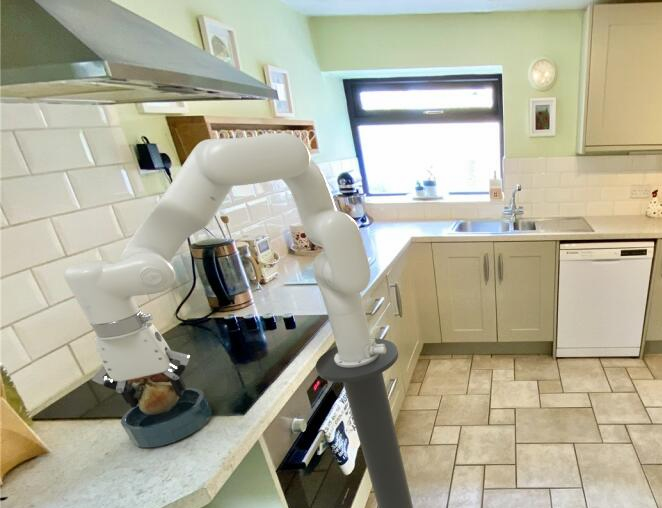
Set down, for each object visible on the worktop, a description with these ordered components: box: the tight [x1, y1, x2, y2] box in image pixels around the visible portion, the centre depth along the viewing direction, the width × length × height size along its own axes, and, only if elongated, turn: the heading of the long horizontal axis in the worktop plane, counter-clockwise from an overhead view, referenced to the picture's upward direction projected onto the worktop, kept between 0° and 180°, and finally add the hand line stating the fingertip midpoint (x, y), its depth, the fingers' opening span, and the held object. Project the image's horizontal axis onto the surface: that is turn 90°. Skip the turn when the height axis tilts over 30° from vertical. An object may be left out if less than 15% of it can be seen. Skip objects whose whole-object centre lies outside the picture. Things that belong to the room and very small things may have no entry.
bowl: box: [120, 387, 213, 448], centre depth 92 cm, size 15×15×6 cm
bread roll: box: [128, 363, 172, 385], centre depth 111 cm, size 10×10×8 cm
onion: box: [132, 377, 179, 415], centre depth 89 cm, size 8×8×8 cm
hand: (159, 398), depth 90 cm, fingers closed on onion, 7 cm apart
